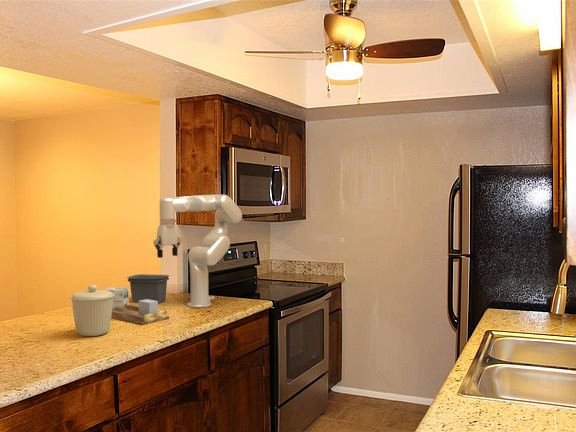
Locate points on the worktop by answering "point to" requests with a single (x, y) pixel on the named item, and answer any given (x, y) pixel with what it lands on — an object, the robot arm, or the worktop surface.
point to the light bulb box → (119, 296)
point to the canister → (92, 311)
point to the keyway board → (137, 315)
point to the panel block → (147, 307)
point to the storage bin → (148, 287)
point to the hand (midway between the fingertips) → (167, 256)
